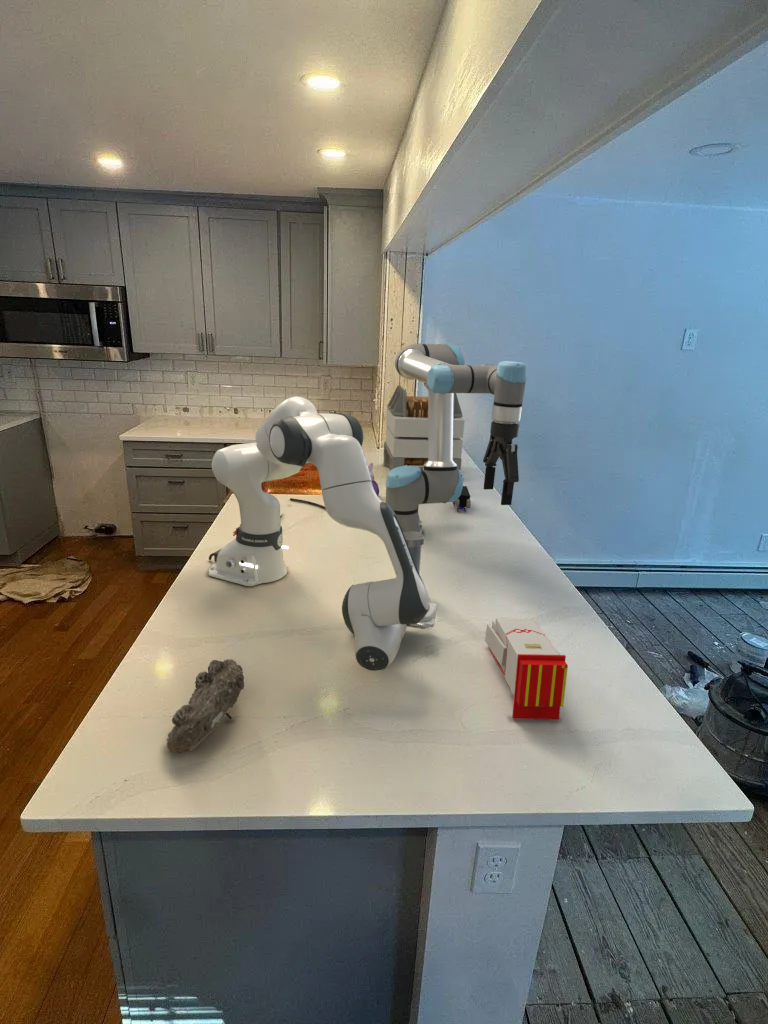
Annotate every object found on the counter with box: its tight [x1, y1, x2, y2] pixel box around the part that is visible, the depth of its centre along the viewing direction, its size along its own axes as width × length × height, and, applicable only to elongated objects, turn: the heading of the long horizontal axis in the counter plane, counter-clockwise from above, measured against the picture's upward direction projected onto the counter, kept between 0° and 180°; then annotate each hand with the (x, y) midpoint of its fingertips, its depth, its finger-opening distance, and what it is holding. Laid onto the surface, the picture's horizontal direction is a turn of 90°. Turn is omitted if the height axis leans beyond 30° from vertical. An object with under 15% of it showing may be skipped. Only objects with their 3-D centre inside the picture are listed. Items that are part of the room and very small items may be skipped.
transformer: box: [383, 384, 465, 472], centre depth 268 cm, size 34×33×41 cm
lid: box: [404, 531, 425, 547], centre depth 152 cm, size 6×6×2 cm
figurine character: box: [451, 485, 472, 513], centre depth 228 cm, size 7×8×15 cm
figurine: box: [368, 462, 380, 497], centre depth 232 cm, size 9×10×15 cm
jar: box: [409, 546, 422, 575], centre depth 155 cm, size 5×5×17 cm
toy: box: [484, 617, 569, 720], centre depth 122 cm, size 12×13×30 cm
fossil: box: [166, 658, 245, 754], centre depth 106 cm, size 22×10×15 cm
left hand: (400, 594), depth 144 cm, fingers open, 8 cm apart
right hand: (496, 496), depth 159 cm, fingers open, 13 cm apart
